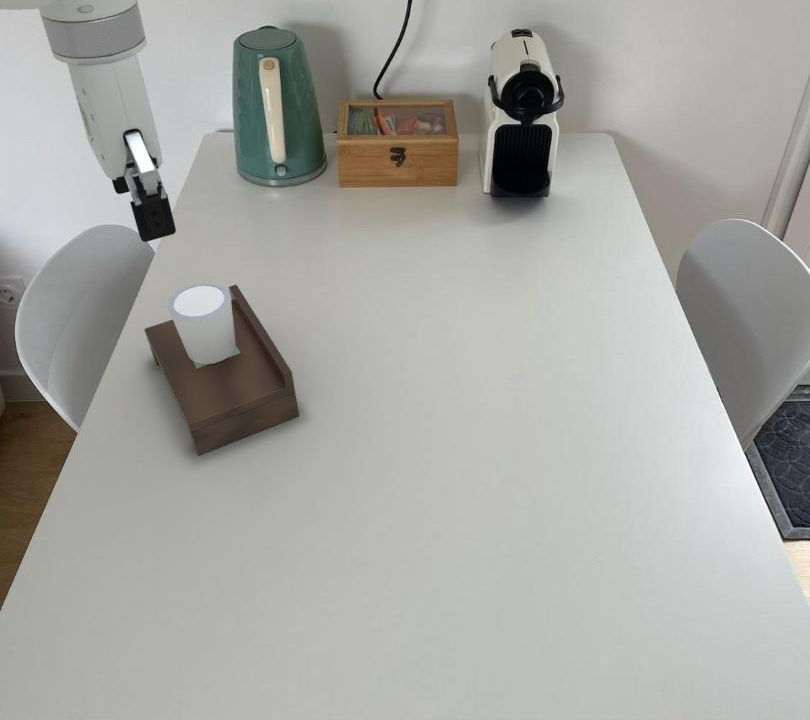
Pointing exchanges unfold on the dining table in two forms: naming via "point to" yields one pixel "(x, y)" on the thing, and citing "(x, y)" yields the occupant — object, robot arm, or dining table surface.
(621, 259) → the dining table surface
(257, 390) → the shelf
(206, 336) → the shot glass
